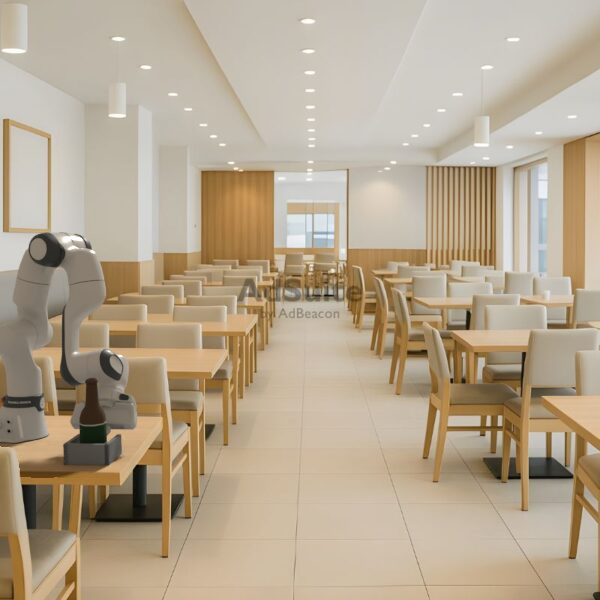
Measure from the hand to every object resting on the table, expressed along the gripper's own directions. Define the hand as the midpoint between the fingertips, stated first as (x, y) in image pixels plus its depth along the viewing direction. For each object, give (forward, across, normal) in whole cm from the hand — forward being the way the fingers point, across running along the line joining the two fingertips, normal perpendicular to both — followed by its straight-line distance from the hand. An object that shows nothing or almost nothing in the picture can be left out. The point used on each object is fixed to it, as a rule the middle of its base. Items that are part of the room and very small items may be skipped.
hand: (99, 440), depth 242 cm
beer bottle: (+6, 0, 0) cm, 6 cm away
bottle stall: (+7, 0, 0) cm, 7 cm away
